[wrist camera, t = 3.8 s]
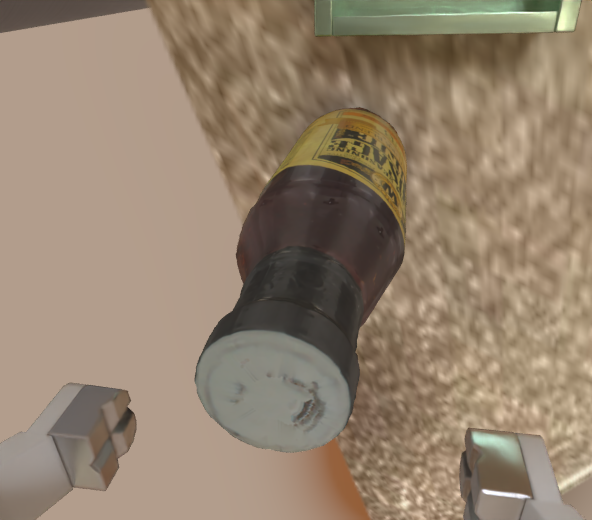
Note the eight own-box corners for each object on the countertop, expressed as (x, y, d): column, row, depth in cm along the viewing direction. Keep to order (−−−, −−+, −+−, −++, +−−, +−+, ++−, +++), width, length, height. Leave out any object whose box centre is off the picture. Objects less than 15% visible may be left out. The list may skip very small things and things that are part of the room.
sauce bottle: (426, 168, 29) (472, 455, 12) (339, 222, 31) (274, 519, 15) (361, 72, 27) (303, 253, 10) (273, 139, 29) (110, 372, 13)
